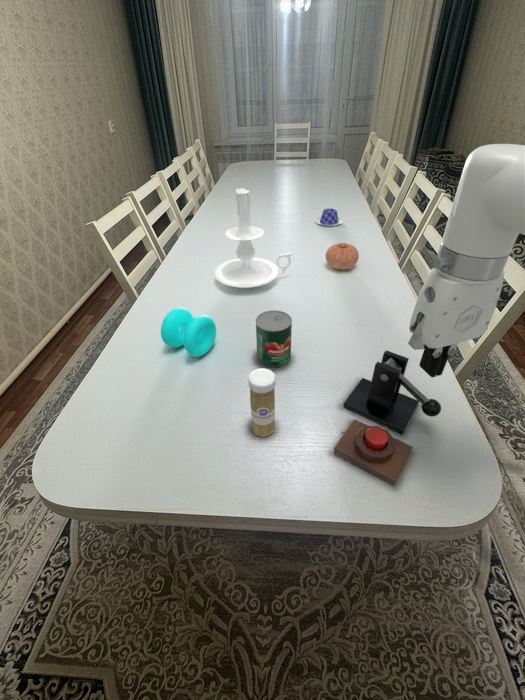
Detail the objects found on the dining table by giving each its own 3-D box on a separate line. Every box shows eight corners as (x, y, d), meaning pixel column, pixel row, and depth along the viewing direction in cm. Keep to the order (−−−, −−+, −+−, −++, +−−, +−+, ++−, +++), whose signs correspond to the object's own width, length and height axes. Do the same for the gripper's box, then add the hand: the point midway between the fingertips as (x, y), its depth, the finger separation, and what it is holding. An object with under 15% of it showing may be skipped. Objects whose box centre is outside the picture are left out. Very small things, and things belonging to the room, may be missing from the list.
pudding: (342, 227, 150) (344, 215, 147) (314, 226, 152) (314, 214, 149) (342, 218, 160) (344, 206, 156) (315, 217, 162) (316, 205, 158)
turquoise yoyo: (194, 366, 83) (188, 331, 77) (162, 353, 87) (154, 318, 81) (220, 343, 89) (216, 309, 83) (189, 332, 94) (183, 298, 87)
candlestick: (295, 294, 108) (299, 196, 90) (213, 297, 107) (201, 200, 90) (288, 264, 124) (290, 177, 106) (216, 267, 123) (207, 180, 106)
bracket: (417, 405, 72) (433, 360, 65) (402, 434, 66) (418, 389, 59) (361, 381, 78) (370, 337, 70) (343, 407, 72) (350, 362, 65)
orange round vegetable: (359, 274, 117) (363, 250, 112) (326, 274, 117) (328, 251, 113) (353, 259, 126) (357, 237, 121) (322, 260, 126) (324, 238, 121)
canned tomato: (276, 375, 80) (276, 335, 73) (250, 360, 84) (247, 321, 77) (297, 357, 84) (299, 318, 78) (271, 344, 89) (271, 306, 82)
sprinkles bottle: (255, 440, 66) (252, 388, 58) (248, 422, 69) (245, 370, 61) (278, 434, 67) (279, 382, 59) (271, 416, 70) (270, 364, 62)
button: (389, 439, 62) (391, 433, 61) (381, 454, 59) (383, 447, 58) (369, 430, 63) (370, 423, 62) (360, 444, 61) (362, 437, 60)
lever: (433, 411, 67) (447, 405, 64) (428, 422, 65) (442, 416, 62) (382, 362, 68) (393, 354, 66) (375, 372, 66) (387, 364, 64)
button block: (410, 452, 63) (415, 440, 61) (394, 486, 58) (399, 474, 56) (352, 424, 68) (355, 412, 66) (333, 453, 63) (335, 441, 61)
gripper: (441, 284, 40) (404, 399, 51) (543, 262, 43) (486, 374, 55) (400, 257, 45) (374, 367, 57) (493, 240, 49) (451, 346, 60)
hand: (429, 370), depth 56 cm, fingers closed
